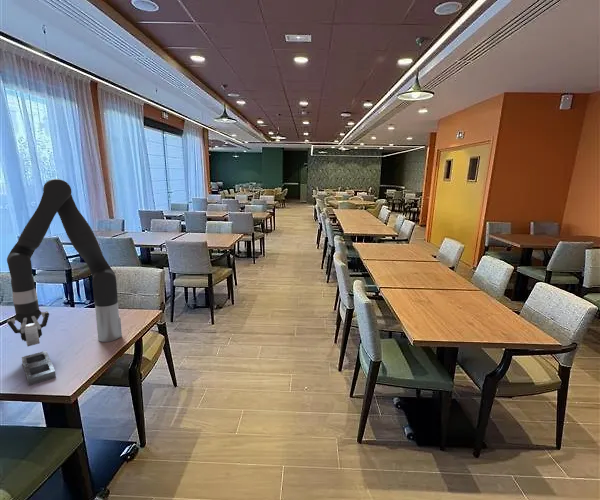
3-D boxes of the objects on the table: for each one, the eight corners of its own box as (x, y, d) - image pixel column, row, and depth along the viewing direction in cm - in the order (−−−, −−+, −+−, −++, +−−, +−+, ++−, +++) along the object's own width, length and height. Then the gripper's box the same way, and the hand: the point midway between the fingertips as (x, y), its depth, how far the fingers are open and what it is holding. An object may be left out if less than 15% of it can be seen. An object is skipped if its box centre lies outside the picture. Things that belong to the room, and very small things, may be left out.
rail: (47, 356, 138) (46, 350, 137) (55, 377, 124) (55, 371, 124) (22, 362, 132) (21, 357, 132) (28, 385, 119) (27, 379, 118)
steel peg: (38, 339, 141) (35, 322, 139) (39, 343, 138) (36, 325, 136) (26, 343, 138) (23, 325, 136) (27, 346, 135) (24, 328, 134)
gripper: (3, 307, 126) (10, 348, 130) (48, 298, 136) (54, 336, 140) (1, 301, 132) (9, 341, 135) (45, 293, 141) (51, 330, 145)
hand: (32, 338), depth 138 cm, fingers closed on steel peg, 4 cm apart
